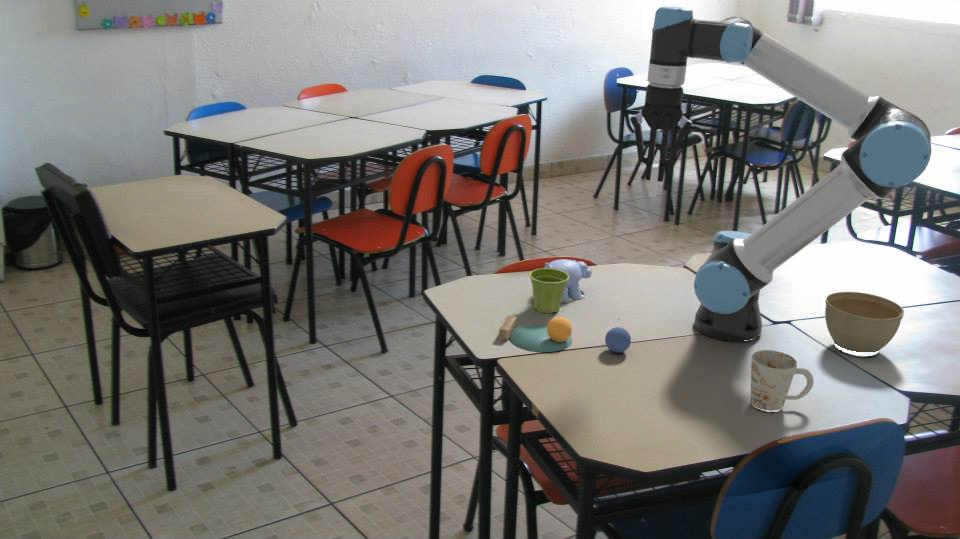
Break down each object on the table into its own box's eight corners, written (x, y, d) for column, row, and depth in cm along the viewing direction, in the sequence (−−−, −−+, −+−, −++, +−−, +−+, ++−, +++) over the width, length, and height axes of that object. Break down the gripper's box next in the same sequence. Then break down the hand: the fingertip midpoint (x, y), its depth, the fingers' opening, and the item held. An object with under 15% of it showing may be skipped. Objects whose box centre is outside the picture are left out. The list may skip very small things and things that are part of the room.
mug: (738, 395, 181) (745, 349, 177) (799, 395, 182) (807, 350, 179) (753, 416, 173) (761, 369, 170) (816, 416, 174) (826, 369, 171)
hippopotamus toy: (601, 294, 229) (605, 258, 225) (556, 306, 220) (559, 269, 217) (572, 280, 237) (576, 246, 233) (528, 291, 228) (530, 255, 225)
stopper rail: (516, 326, 207) (516, 316, 206) (507, 340, 200) (508, 330, 199) (507, 325, 208) (508, 315, 207) (498, 339, 200) (499, 329, 199)
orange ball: (554, 309, 202) (546, 330, 204) (550, 319, 197) (541, 340, 199) (577, 319, 201) (568, 340, 203) (573, 329, 196) (564, 350, 198)
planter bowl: (890, 341, 209) (900, 297, 206) (897, 370, 195) (908, 324, 191) (816, 329, 214) (824, 286, 210) (818, 357, 199) (827, 311, 196)
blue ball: (608, 320, 198) (603, 341, 200) (607, 333, 193) (602, 354, 196) (633, 325, 197) (628, 346, 200) (633, 338, 192) (627, 360, 195)
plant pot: (563, 318, 213) (566, 284, 210) (524, 314, 214) (526, 279, 211) (568, 304, 221) (571, 270, 218) (530, 299, 223) (532, 266, 220)
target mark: (576, 330, 207) (576, 329, 207) (565, 356, 194) (566, 355, 194) (516, 321, 210) (516, 320, 210) (502, 346, 197) (502, 345, 197)
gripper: (631, 84, 186) (620, 196, 194) (696, 90, 183) (682, 203, 191) (635, 79, 193) (624, 187, 201) (698, 85, 190) (684, 194, 198)
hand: (652, 195), depth 196 cm, fingers closed
